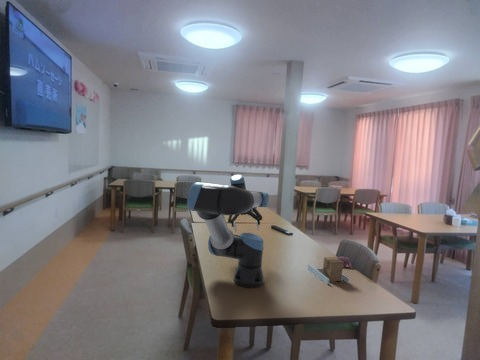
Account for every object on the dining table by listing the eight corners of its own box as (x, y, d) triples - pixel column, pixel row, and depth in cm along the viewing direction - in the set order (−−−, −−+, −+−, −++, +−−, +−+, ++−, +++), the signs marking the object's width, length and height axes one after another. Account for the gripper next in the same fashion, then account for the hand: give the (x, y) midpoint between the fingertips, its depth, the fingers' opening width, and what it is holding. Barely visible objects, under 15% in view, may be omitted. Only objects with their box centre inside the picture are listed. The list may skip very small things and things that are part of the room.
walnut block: (322, 276, 166) (324, 257, 165) (333, 276, 168) (335, 256, 167) (329, 282, 159) (331, 262, 158) (340, 281, 161) (343, 261, 160)
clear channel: (307, 269, 175) (308, 264, 175) (327, 268, 179) (327, 263, 178) (327, 284, 156) (327, 279, 156) (348, 283, 160) (349, 278, 159)
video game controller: (349, 269, 184) (348, 257, 187) (352, 268, 180) (351, 256, 183) (333, 268, 184) (332, 256, 186) (336, 267, 180) (335, 255, 182)
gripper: (263, 194, 174) (267, 224, 184) (220, 198, 178) (227, 227, 188) (263, 202, 167) (267, 232, 178) (218, 206, 171) (225, 235, 182)
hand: (247, 229), depth 183 cm, fingers open, 13 cm apart
